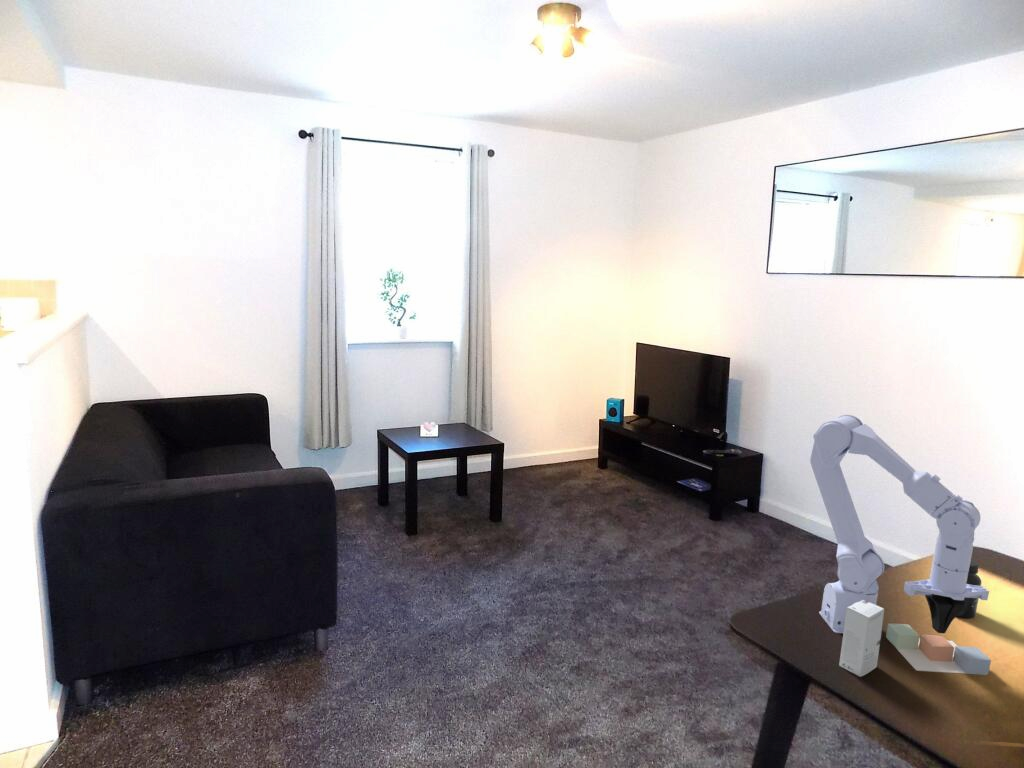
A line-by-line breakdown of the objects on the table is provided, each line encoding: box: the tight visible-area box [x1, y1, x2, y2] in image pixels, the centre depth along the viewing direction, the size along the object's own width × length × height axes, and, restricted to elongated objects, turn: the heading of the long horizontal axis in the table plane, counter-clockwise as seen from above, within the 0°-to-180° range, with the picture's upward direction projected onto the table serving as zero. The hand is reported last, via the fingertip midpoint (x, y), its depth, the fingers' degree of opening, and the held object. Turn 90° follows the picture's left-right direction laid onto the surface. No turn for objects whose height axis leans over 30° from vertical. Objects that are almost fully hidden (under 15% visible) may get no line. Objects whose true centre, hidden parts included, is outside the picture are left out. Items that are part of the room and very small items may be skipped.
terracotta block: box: [919, 634, 954, 662], centre depth 127 cm, size 4×4×3 cm
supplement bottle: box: [955, 559, 982, 620], centre depth 143 cm, size 7×7×12 cm
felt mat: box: [885, 636, 987, 676], centre depth 127 cm, size 13×11×1 cm
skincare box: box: [838, 600, 885, 678], centre depth 122 cm, size 6×4×12 cm
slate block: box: [953, 645, 992, 676], centre depth 123 cm, size 4×4×3 cm
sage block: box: [885, 622, 921, 650], centre depth 130 cm, size 4×4×3 cm
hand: (938, 630), depth 126 cm, fingers closed
